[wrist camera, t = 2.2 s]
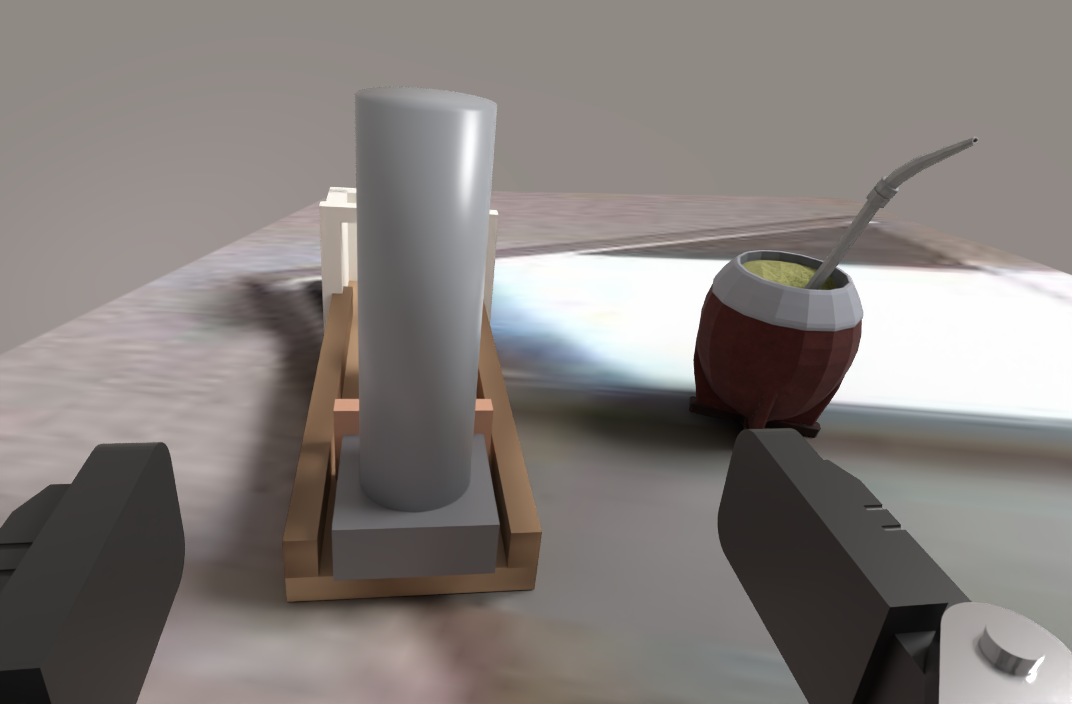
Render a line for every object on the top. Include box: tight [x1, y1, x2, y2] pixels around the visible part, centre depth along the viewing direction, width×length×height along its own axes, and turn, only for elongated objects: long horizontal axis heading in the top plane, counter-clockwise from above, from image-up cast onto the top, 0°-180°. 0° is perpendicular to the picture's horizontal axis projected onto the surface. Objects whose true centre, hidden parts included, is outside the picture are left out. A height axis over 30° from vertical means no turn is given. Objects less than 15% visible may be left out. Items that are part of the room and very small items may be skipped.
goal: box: [319, 187, 498, 332], centre depth 42 cm, size 9×6×7 cm
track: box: [282, 281, 542, 602], centre depth 35 cm, size 8×26×2 cm, turn 9°
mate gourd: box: [689, 136, 978, 437], centre depth 33 cm, size 8×8×15 cm
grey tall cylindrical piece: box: [332, 87, 500, 581], centre depth 22 cm, size 6×6×14 cm
